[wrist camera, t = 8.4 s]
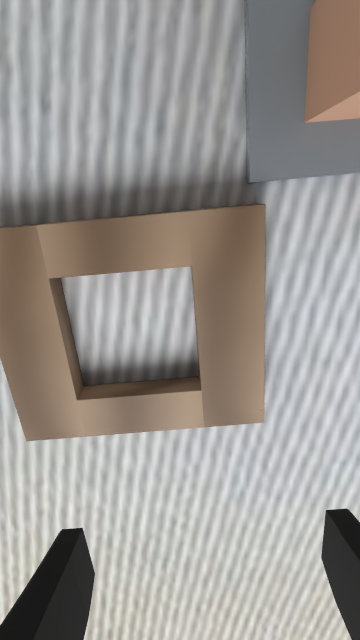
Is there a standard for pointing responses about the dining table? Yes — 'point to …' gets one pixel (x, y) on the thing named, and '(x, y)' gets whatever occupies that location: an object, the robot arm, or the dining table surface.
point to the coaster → (288, 100)
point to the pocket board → (124, 256)
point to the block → (333, 61)
